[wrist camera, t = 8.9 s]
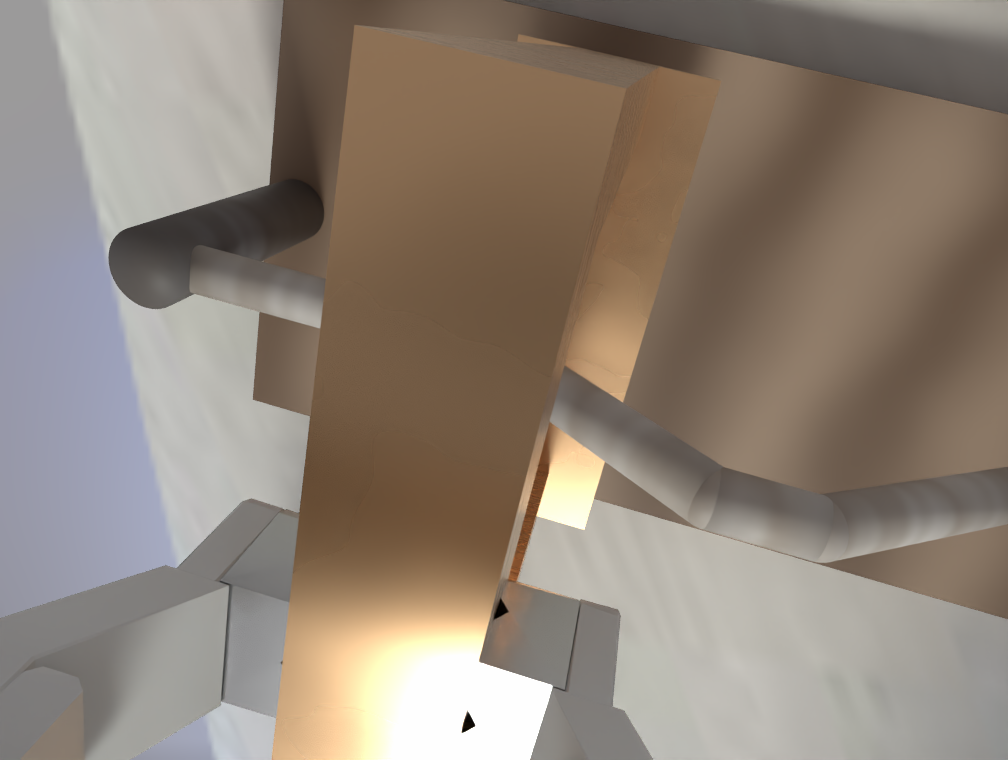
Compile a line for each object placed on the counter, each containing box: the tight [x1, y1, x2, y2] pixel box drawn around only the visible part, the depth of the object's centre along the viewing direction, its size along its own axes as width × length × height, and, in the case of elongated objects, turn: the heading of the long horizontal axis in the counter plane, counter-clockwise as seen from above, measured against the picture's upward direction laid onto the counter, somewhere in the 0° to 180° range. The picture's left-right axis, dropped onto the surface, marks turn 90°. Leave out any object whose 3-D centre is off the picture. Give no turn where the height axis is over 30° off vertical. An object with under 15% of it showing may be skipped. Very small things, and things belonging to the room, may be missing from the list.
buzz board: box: [109, 0, 1008, 619], centre depth 19 cm, size 31×15×13 cm, turn 78°
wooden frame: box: [272, 25, 721, 760], centre depth 15 cm, size 5×13×16 cm, turn 168°
